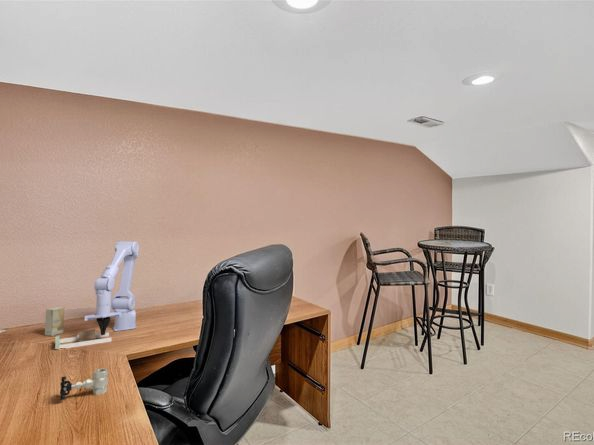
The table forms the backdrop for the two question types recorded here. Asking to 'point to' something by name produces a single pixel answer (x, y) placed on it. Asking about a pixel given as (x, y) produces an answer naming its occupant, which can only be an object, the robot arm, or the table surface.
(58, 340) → the lane
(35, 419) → the table surface
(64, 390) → the valve
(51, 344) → the table surface
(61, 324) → the skincare box
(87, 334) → the block
